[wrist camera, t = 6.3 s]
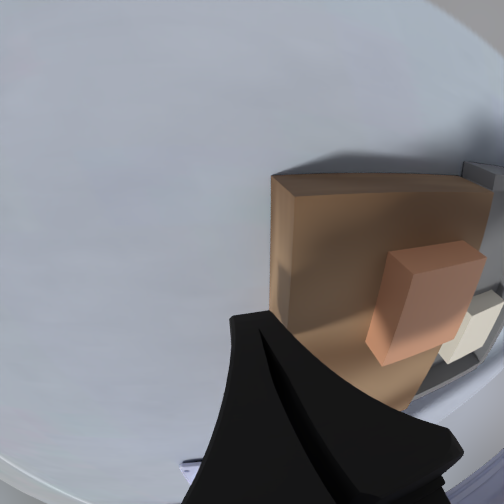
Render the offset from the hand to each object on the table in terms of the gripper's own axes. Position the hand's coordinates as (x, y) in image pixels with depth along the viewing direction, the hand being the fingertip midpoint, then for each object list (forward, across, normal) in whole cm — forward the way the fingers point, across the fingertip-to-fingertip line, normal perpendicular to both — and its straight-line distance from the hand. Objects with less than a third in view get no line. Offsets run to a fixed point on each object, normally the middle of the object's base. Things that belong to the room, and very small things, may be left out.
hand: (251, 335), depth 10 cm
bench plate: (+3, -6, +4) cm, 8 cm away
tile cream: (+1, -17, +6) cm, 18 cm away
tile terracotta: (0, -7, 0) cm, 7 cm away
